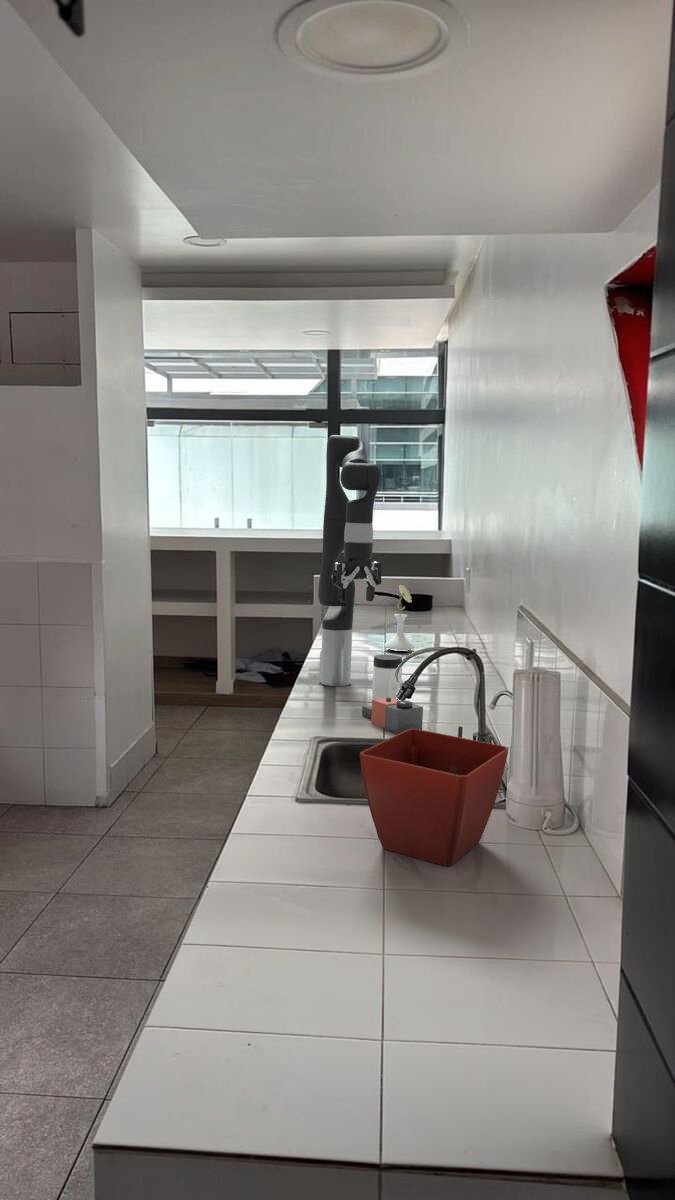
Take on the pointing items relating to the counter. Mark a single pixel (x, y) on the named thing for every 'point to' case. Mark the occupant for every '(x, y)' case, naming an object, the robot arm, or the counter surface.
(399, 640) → the flower in vase
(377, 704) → the notched red block
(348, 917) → the counter surface
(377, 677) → the jar
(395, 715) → the coupler
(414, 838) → the plant pot
